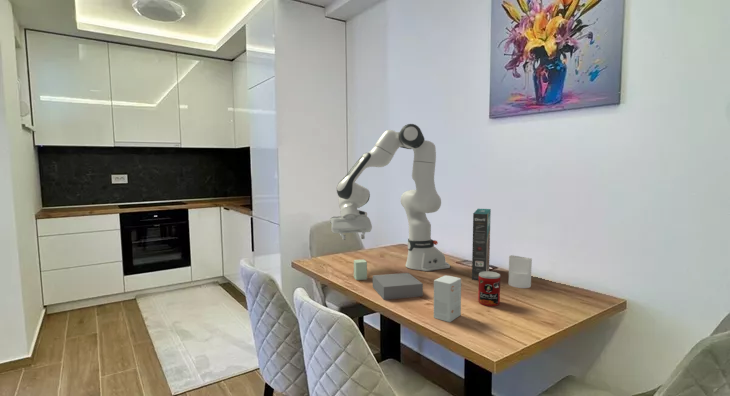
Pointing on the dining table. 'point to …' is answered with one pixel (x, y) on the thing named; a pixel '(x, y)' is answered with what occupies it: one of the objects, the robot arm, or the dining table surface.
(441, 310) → the small box
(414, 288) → the stand
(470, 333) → the dining table surface
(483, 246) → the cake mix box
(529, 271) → the base with upright slab
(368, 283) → the dining table surface
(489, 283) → the canned food
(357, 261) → the sage block
